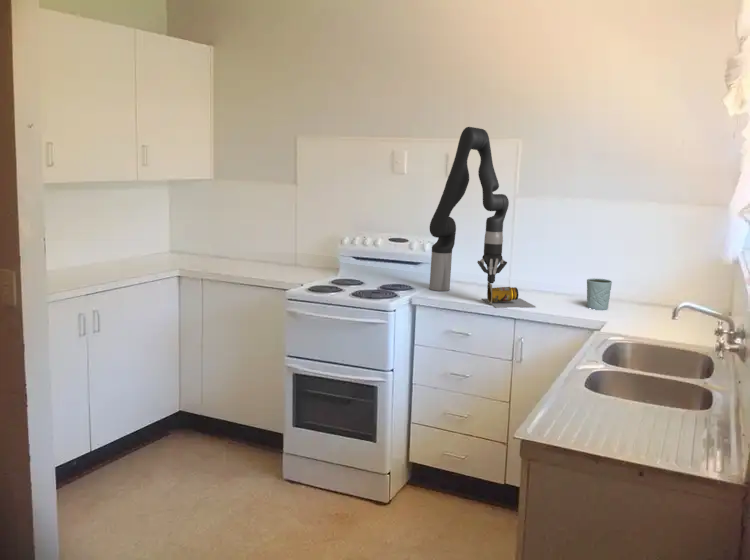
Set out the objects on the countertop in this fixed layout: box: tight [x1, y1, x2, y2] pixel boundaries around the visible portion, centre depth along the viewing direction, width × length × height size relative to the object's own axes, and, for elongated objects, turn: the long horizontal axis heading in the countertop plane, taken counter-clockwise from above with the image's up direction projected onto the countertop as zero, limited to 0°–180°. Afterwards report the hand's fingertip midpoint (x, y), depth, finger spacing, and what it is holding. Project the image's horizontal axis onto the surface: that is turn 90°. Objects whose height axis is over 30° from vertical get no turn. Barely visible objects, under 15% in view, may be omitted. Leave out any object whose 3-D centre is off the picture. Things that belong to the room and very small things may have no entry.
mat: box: [481, 297, 537, 309], centre depth 323 cm, size 16×18×1 cm
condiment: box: [486, 281, 519, 304], centre depth 320 cm, size 7×8×12 cm
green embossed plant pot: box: [586, 277, 613, 311], centre depth 320 cm, size 10×10×12 cm
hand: (490, 283), depth 319 cm, fingers closed
